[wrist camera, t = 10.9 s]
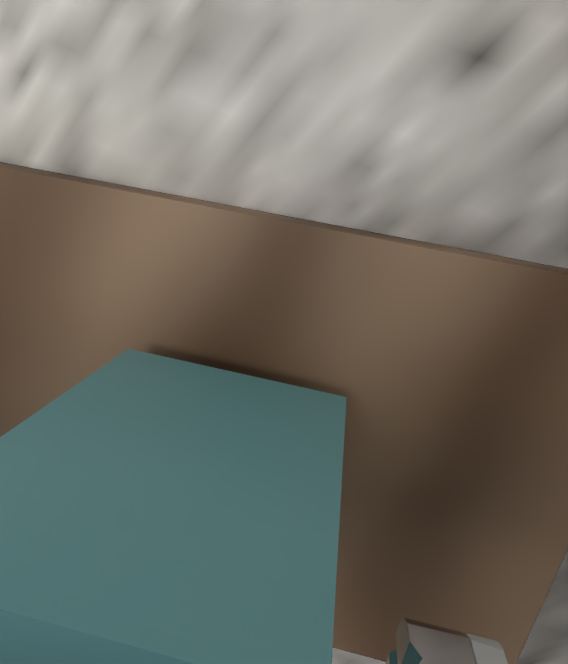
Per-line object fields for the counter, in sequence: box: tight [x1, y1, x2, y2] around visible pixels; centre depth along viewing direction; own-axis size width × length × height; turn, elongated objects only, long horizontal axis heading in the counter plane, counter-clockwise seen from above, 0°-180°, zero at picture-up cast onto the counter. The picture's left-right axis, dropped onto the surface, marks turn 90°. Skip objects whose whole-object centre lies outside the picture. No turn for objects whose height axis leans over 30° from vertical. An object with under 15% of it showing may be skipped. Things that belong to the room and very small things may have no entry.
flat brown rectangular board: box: [0, 162, 568, 664], centre depth 10 cm, size 18×12×8 cm, turn 80°
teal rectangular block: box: [0, 349, 347, 664], centre depth 8 cm, size 5×5×7 cm
